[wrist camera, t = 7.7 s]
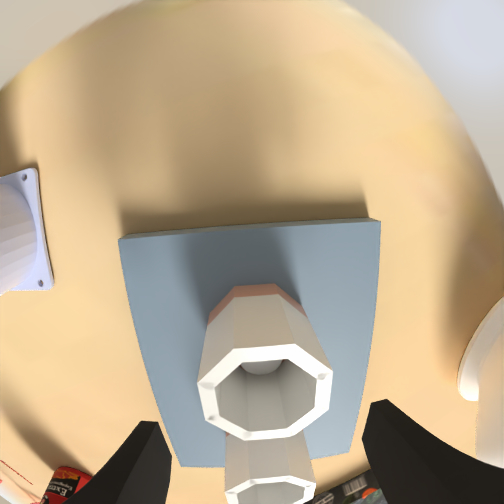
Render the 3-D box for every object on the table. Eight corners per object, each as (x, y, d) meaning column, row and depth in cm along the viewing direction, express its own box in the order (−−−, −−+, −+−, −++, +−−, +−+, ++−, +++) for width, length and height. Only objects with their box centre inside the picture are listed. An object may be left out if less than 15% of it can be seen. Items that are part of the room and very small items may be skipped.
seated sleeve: (231, 450, 19) (231, 514, 13) (223, 407, 18) (220, 480, 12) (297, 445, 19) (311, 507, 13) (299, 401, 18) (318, 471, 12)
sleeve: (216, 366, 17) (210, 441, 11) (206, 287, 15) (190, 350, 10) (301, 359, 17) (325, 431, 11) (302, 280, 16) (336, 338, 10)
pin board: (183, 453, 21) (176, 493, 16) (127, 234, 16) (93, 254, 12) (344, 440, 21) (358, 477, 17) (369, 217, 16) (408, 231, 12)
